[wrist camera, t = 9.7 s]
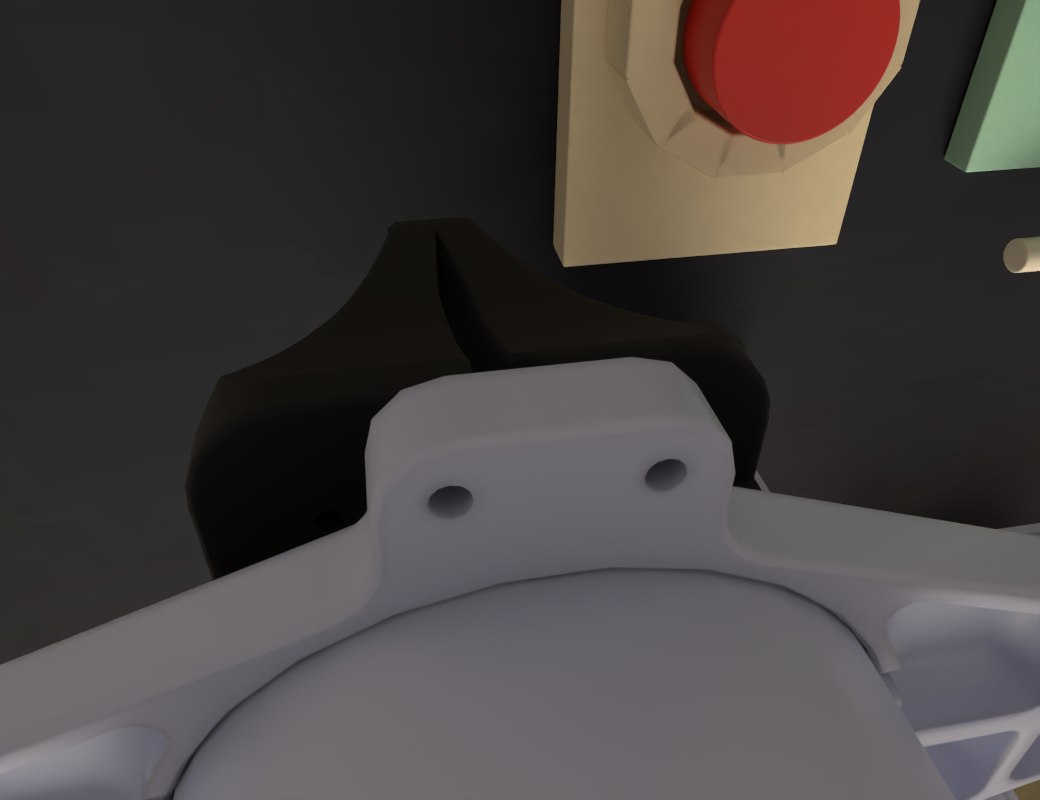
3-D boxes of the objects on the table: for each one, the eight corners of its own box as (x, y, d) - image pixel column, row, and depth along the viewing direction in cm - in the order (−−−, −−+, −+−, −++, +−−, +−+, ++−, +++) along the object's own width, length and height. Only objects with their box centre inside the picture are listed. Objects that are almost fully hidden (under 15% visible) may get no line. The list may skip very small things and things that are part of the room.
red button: (830, 113, 21) (871, 140, 20) (671, 122, 21) (700, 151, 19) (876, -80, 19) (927, -67, 17) (694, -77, 18) (730, -63, 16)
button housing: (815, 225, 27) (869, 275, 24) (552, 246, 26) (578, 301, 23) (928, -231, 20) (1024, -233, 17) (568, -235, 18) (609, -238, 16)
